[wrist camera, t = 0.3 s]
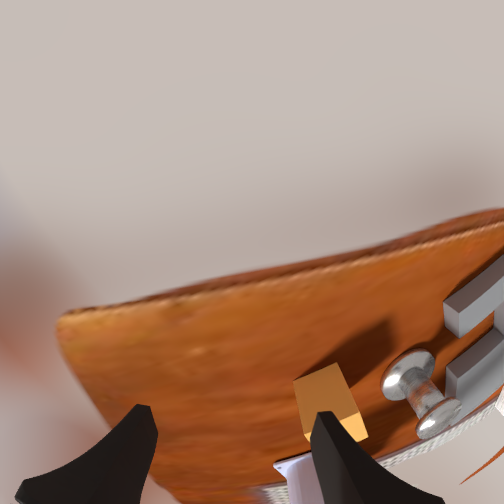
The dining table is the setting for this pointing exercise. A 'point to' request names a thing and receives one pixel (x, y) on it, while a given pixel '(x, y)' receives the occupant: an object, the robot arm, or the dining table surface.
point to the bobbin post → (420, 391)
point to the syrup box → (500, 402)
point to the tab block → (328, 401)
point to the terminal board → (486, 349)
